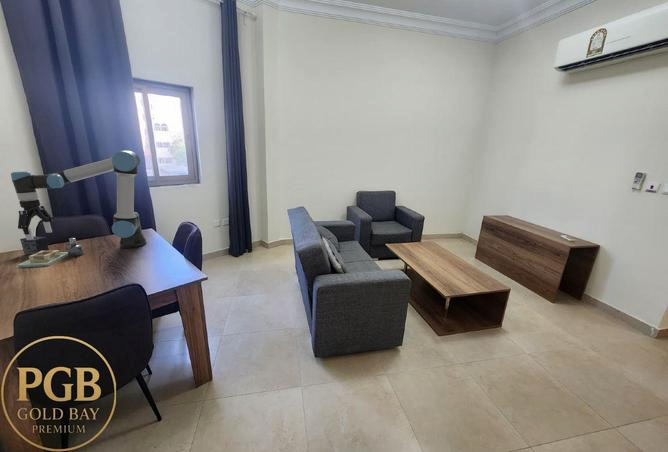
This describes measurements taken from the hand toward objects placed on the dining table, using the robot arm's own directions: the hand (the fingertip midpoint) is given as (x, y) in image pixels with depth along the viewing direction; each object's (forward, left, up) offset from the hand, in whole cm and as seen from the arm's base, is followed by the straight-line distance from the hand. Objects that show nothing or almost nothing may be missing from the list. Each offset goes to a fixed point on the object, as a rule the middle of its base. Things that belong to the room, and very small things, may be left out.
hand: (40, 235), depth 155 cm
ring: (0, 0, -15) cm, 15 cm away
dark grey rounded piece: (-11, -7, -15) cm, 20 cm away
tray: (0, 0, -15) cm, 15 cm away
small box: (+13, -13, -16) cm, 24 cm away
